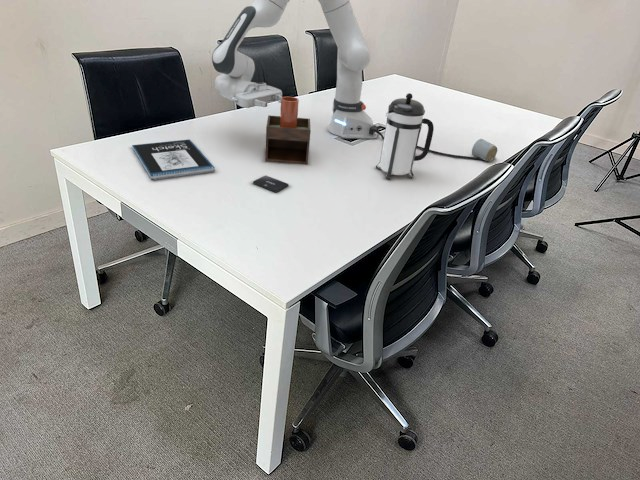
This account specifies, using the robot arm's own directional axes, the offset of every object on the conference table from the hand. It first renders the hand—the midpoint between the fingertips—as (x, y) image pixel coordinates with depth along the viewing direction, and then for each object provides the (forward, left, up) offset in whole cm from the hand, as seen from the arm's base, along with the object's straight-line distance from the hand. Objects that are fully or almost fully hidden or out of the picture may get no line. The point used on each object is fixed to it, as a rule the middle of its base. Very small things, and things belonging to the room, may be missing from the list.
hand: (274, 102), depth 173 cm
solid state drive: (-1, +31, -19) cm, 36 cm away
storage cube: (-6, +5, -19) cm, 20 cm away
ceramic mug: (-90, -9, -19) cm, 92 cm away
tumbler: (-6, +5, -9) cm, 11 cm away
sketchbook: (+35, +16, -19) cm, 43 cm away
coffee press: (-48, +13, -19) cm, 53 cm away
